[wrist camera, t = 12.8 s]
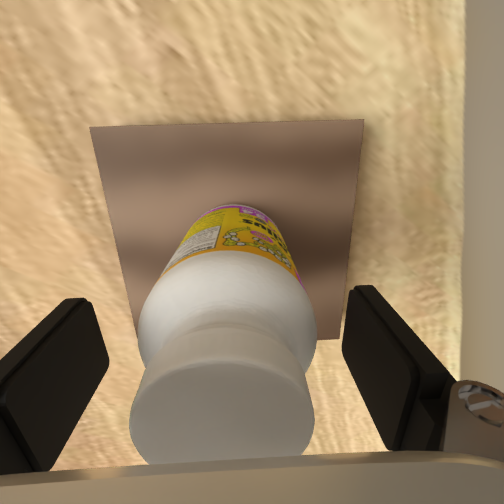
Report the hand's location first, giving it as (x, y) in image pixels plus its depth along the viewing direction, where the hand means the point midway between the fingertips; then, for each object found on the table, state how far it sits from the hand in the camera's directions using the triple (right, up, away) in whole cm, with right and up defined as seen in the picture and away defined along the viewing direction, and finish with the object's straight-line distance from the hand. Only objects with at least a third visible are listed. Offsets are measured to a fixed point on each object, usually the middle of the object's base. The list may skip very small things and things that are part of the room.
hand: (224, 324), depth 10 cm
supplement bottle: (0, +3, +9) cm, 9 cm away
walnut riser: (0, +4, +12) cm, 12 cm away
